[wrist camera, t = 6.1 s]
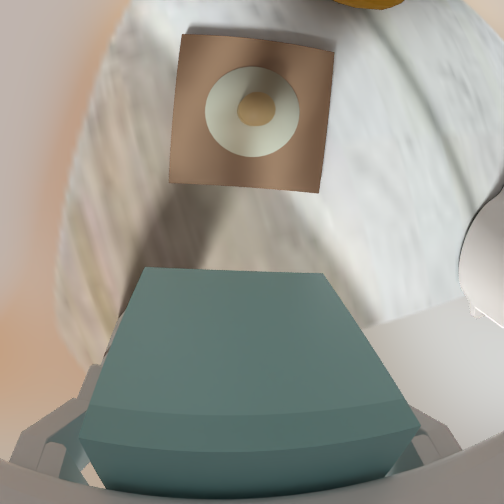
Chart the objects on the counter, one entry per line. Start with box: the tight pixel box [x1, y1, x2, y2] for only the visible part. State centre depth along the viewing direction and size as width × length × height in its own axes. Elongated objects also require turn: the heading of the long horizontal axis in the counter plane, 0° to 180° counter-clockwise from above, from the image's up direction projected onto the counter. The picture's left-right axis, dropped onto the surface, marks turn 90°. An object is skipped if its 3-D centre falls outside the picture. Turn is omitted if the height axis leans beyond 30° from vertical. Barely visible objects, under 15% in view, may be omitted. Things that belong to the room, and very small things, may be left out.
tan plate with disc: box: [169, 34, 334, 193], centre depth 22 cm, size 12×12×4 cm
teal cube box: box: [78, 267, 421, 499], centre depth 9 cm, size 6×6×7 cm
